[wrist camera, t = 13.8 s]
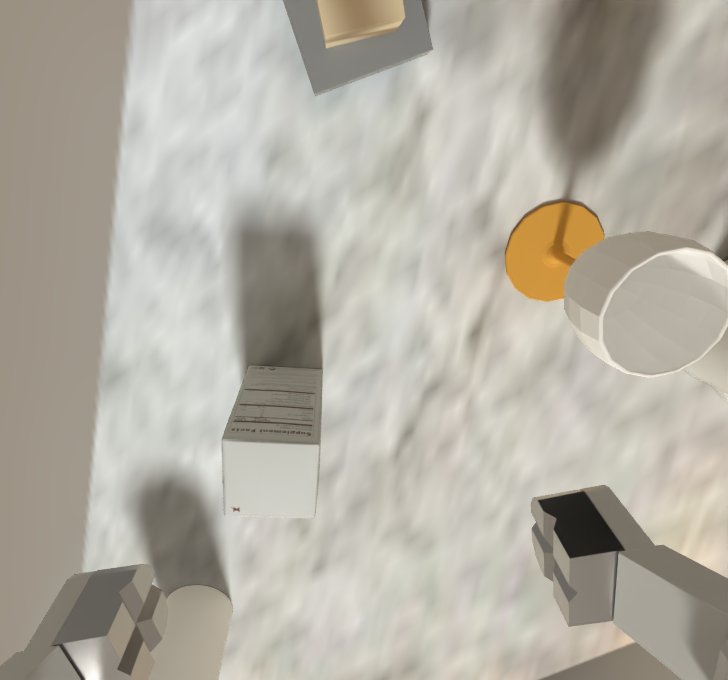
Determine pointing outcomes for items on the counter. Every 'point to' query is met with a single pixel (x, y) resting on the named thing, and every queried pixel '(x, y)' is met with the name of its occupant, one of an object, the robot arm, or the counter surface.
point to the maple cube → (358, 19)
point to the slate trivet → (355, 46)
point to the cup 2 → (623, 288)
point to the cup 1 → (193, 635)
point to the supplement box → (273, 444)
